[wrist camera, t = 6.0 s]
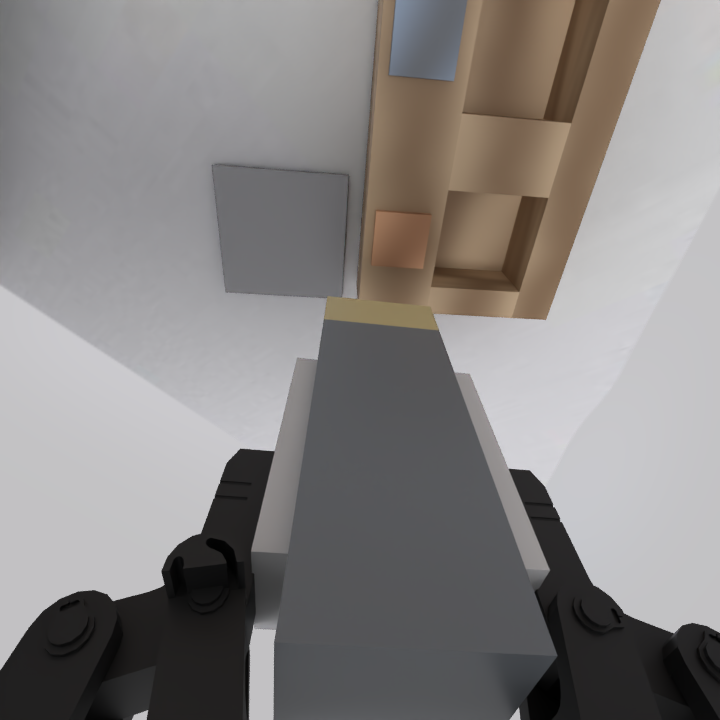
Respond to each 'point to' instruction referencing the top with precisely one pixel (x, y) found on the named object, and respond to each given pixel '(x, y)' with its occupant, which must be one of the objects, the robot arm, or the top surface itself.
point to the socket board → (488, 146)
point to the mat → (281, 230)
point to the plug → (400, 541)
